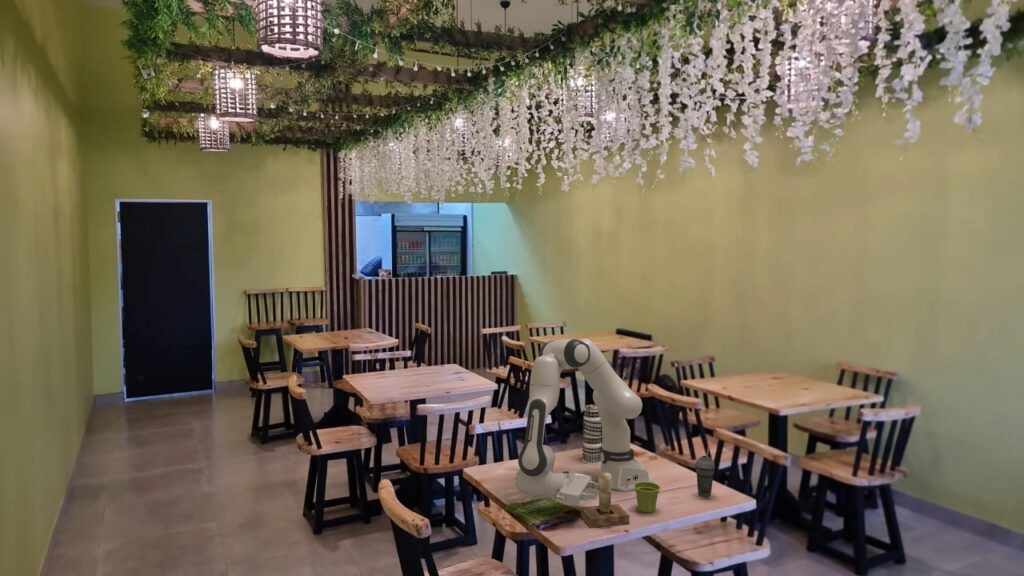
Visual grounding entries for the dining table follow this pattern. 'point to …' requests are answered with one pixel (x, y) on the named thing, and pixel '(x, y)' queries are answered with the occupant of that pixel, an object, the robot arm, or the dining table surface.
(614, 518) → the brown wooden frame
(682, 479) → the dining table surface
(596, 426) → the decorative candle
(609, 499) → the peg
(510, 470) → the dining table surface
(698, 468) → the beverage cup
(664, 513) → the dining table surface
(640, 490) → the plant pot
